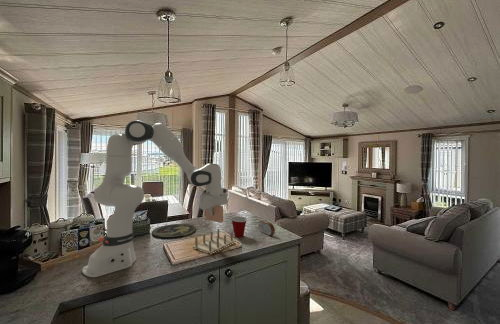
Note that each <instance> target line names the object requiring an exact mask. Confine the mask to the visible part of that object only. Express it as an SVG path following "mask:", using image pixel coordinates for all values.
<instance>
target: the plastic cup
mask: <svg viewBox="0 0 500 324" xmlns="http://www.w3.org/2000/svg"><path fill="white" fill-rule="evenodd" d="M230 219H231V222H232V231H233V233H234V234H233V235H234V238H243V237H244V236H245V229H246V224H247V221H248V218H247V217H244V216H240V215H239V216H237V215H236V216H233V217H232V216H231V217H230Z"/></svg>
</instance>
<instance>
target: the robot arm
mask: <svg viewBox="0 0 500 324" xmlns="http://www.w3.org/2000/svg"><path fill="white" fill-rule="evenodd" d="M147 141H150V142H152V143H153V144H155V146H156V147H157V148H158V149H159V151H161V153H163V154H164V155H165V156H166V157H168V158H170V160H172V161H174V162H175V163H176V164H177V165H178V166H179V168H181V170H182V171H183V172H184V173H185V174H186V179H187V181H188V183H189V184H191V185H193V186H195V187H198V188H199V187H204V186H205V188H206V189H205V192H202V193H201V195H200V197H199V205H198V206H199V207H198V208H199V210H203V211H205V210H206V209H208V210H209V212H210V215H214V212H213V211H212V209H213V207H215V206H217V205H219V206H224V205H227V204H228V201H229V200H228V197H229V196H228V188H224V187H222V170H221V169H222V168H221V166H220V165H219V164H217V163H211V162H209V163H208V162H207V164H205V165H204V166H202V167H200V168H198V167H196V166H194V165H193V163H191V161H190V160H189V159H188V158H187V156H186V154H185V152H184V147H183V144H182V143H181V141H180V140H179V138H178V137H177V136H176V134H174V132H172V130H171V129H169V128H168V126H166V125H165V124H163V123H162V122H158V123H154V124H153V125H151V124H149V123H147V122H145V121H142V120H131V121H130V122H128V123H126V126H125V130H124V132H123V133H115V134H112V135H110V136H109V137H108V140H107V145H106V154H105V155H106V156H105V159H106V161H105V173H104V177H103V179H102V182H101V183H100V185H99V186H98V187H96V188H95V190H94V193H93V199H94V201H95V202H96V203H97V204H99V205H103V206H105V207H107V206H108V207H114V211H113V214H112V215H110V216H109V217H108V218H107V220H106V236H105V237H103V236H100V237H99V238H98V242H100V243H102V245H101V246H99V248H97V249H96V250H95V251H94V252H93V253H92V254H91V255H90V256H89V258H88V264H87V265H85V266H83V267H82V268H81V269H82V274H83V275H84V276H86V277H88V278H98V277H101V276H104V275H108V274H111V273H114V272H117V271H121V270H123V269H128V268H131V267H132V266H133V263H135V262H136V261H137V256H136V253H135V249H134V231H133V218H134V213H135V211H136V209H137V207H139V205H141V204H142V203H143V201H144V198H145V192H144V190H143V188H142V187H141V186H139V185H135V184H127V183H125V184H124V181H125V179H126V177H128V176H129V175H130V174H131V173H132V169H133V168H132V167H133V161H132V160H133V151H132V150H133V146H139V145H141V144H144V143H145V142H147Z"/></svg>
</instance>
